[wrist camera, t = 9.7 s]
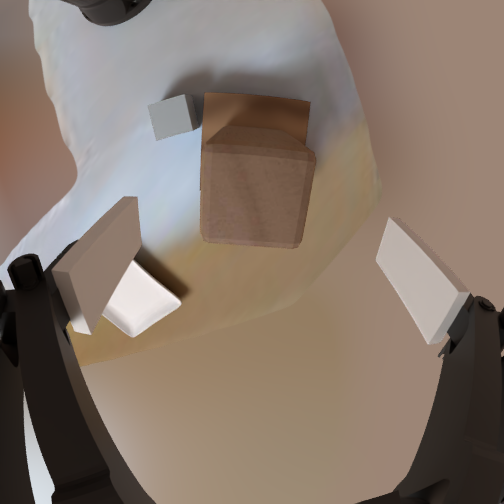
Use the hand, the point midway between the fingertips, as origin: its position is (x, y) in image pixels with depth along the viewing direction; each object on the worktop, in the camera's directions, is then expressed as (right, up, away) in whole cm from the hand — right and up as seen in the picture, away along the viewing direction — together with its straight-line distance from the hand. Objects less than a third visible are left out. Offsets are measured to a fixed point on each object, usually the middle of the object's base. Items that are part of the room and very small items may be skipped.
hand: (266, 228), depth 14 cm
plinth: (-1, +18, +31) cm, 36 cm away
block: (-1, +14, +28) cm, 31 cm away
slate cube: (-13, +22, +28) cm, 38 cm away
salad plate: (-30, -9, +47) cm, 57 cm away
